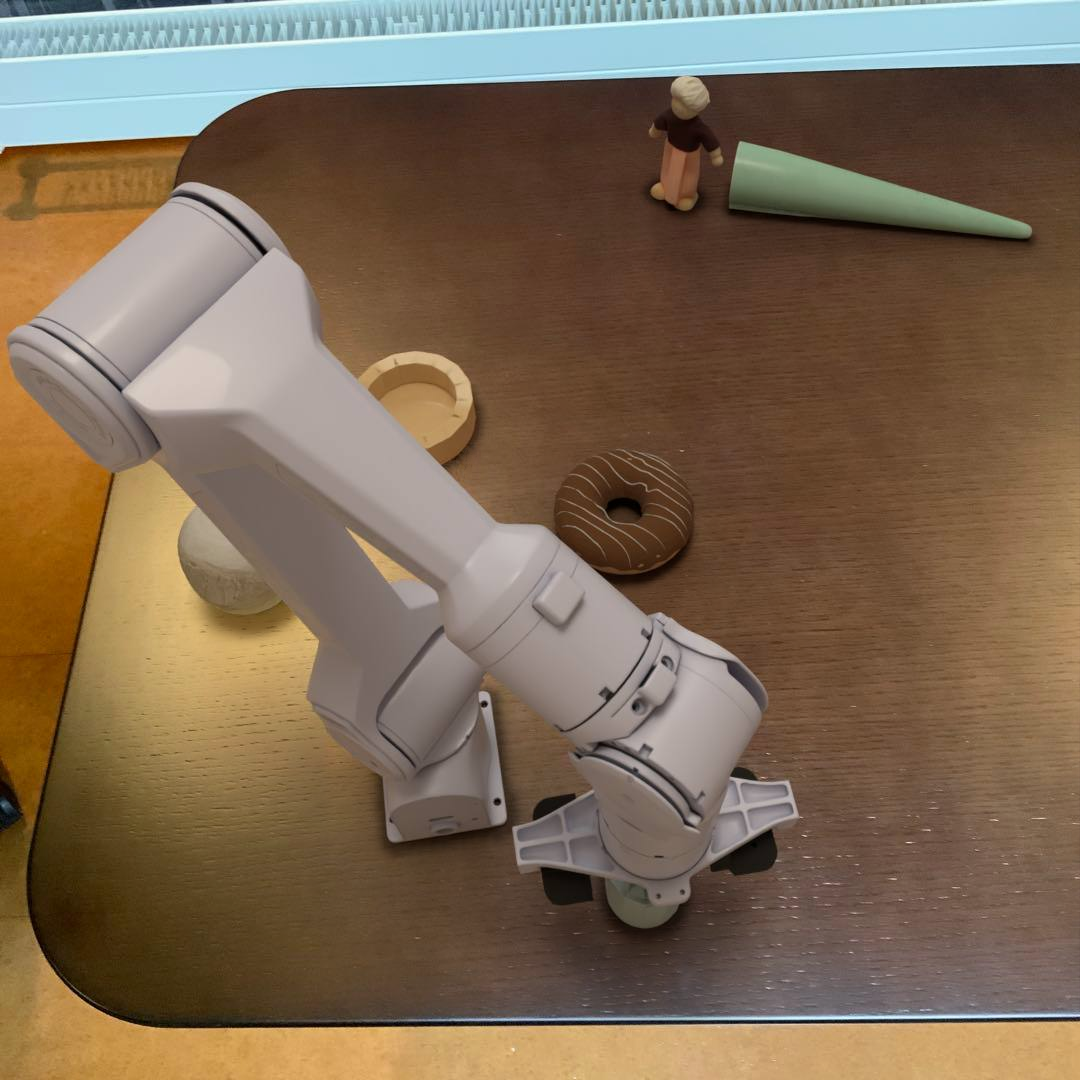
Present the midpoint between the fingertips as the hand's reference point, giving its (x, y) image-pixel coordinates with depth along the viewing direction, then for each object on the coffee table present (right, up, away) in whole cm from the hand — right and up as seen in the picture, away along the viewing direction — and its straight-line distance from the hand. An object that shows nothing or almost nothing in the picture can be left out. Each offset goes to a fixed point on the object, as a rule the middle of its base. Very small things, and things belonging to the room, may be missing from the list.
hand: (648, 864), depth 61 cm
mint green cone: (+25, +49, +35) cm, 65 cm away
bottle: (0, -3, +6) cm, 7 cm away
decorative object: (-27, +16, +19) cm, 37 cm away
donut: (0, +20, +20) cm, 28 cm away
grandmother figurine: (+7, +51, +37) cm, 63 cm away
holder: (-17, +29, +26) cm, 42 cm away
